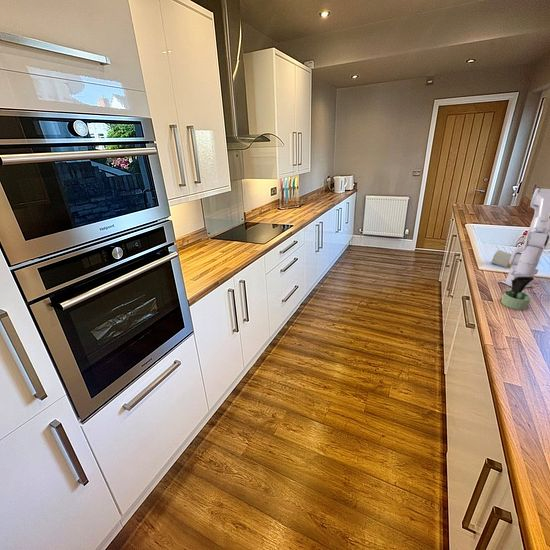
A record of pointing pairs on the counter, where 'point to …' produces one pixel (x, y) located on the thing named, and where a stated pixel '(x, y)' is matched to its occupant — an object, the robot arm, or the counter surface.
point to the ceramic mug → (501, 258)
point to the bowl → (516, 300)
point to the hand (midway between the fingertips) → (516, 291)
